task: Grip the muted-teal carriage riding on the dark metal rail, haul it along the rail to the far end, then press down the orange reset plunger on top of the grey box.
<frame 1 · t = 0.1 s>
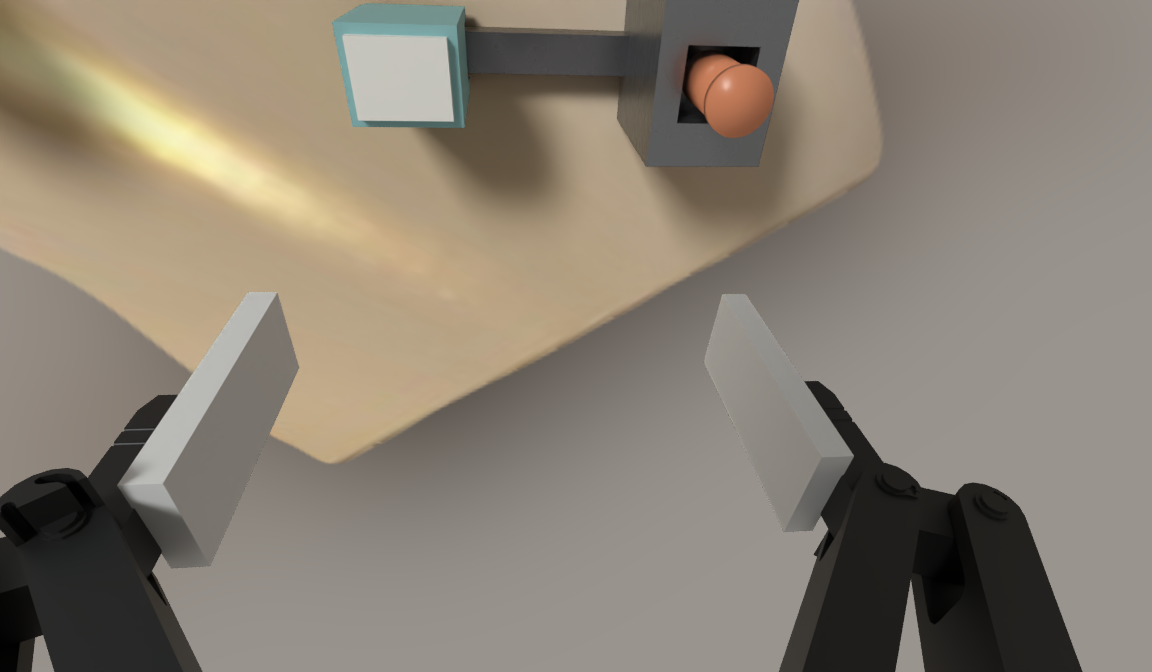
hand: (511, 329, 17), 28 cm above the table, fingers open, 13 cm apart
rail: (498, 47, 37), on the table
grey box: (671, 52, 38), on the table
carriage: (412, 62, 32), point 5 cm above the table, slide at 0.0 cm
plunger: (722, 89, 30), point 11 cm above the table, slide at 0.0 cm
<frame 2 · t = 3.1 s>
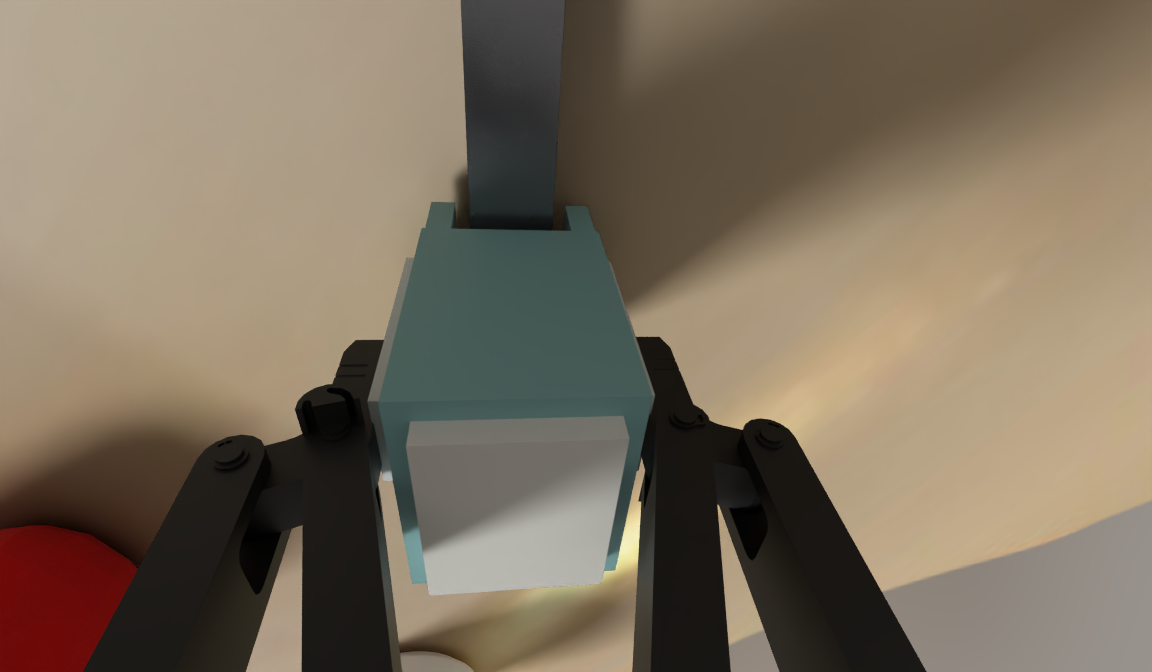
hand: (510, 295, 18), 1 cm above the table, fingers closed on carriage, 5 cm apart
rail: (510, 131, 16), on the table
tomato: (71, 565, 26), on the table
carriage: (513, 376, 15), point 5 cm above the table, slide at 0.0 cm, touching gripper
beverage can: (415, 669, 37), on the table
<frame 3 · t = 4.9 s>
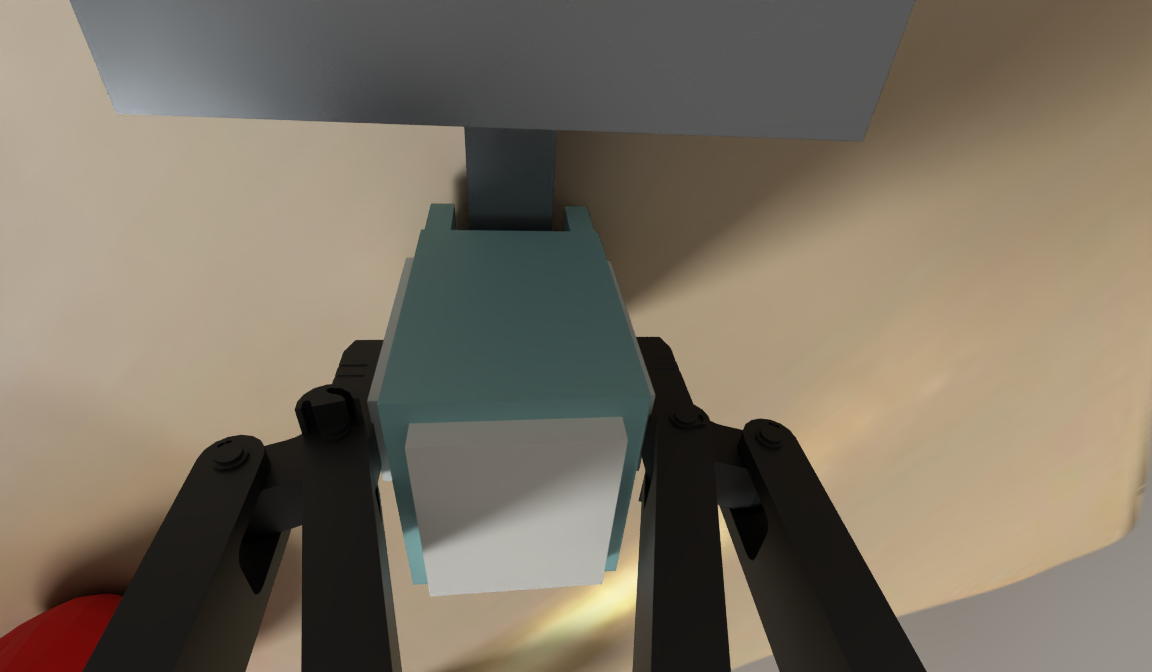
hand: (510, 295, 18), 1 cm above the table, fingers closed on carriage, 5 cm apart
rail: (510, 289, 20), on the table
tomato: (124, 622, 30), on the table
carriage: (513, 377, 15), point 5 cm above the table, slide at 5.5 cm, touching gripper
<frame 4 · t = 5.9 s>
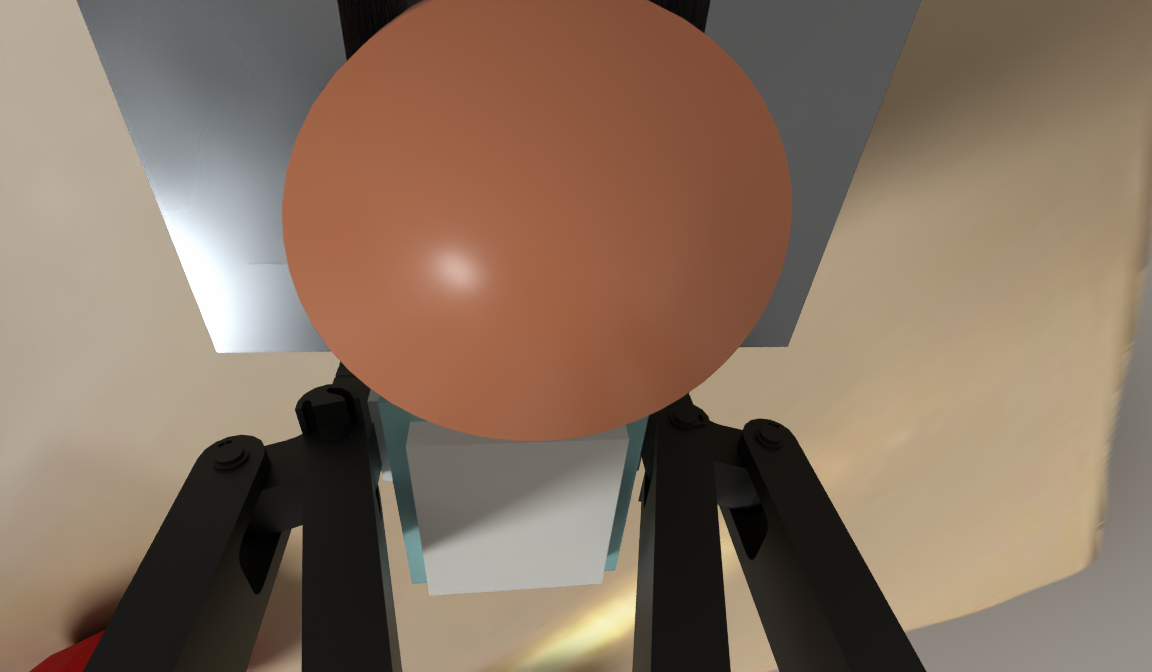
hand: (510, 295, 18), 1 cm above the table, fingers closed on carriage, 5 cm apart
tomato: (144, 650, 32), on the table
grey box: (511, 14, 15), on the table
carriage: (513, 376, 15), point 5 cm above the table, slide at 8.9 cm, touching gripper
plunger: (530, 143, 6), point 11 cm above the table, slide at 0.0 cm
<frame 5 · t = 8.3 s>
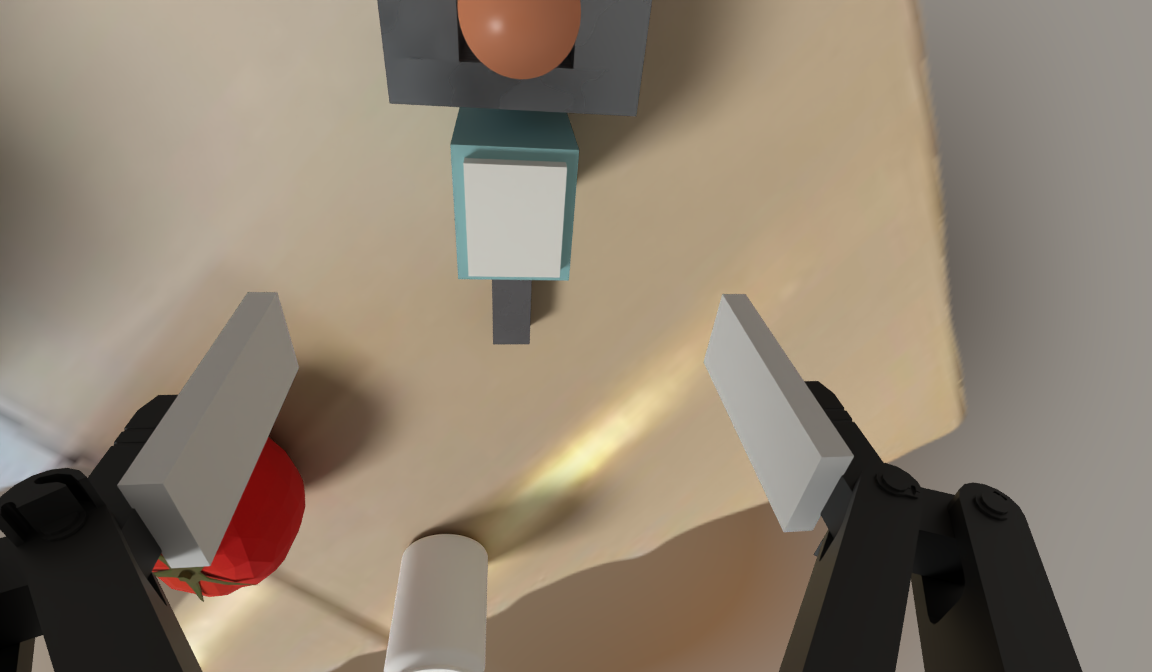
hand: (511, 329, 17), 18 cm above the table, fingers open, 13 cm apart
rail: (512, 212, 33), on the table
tomato: (243, 456, 43), on the table
carriage: (513, 182, 26), point 5 cm above the table, slide at 9.0 cm
plunger: (518, 1, 17), point 11 cm above the table, slide at 0.0 cm
beverage can: (446, 550, 54), on the table
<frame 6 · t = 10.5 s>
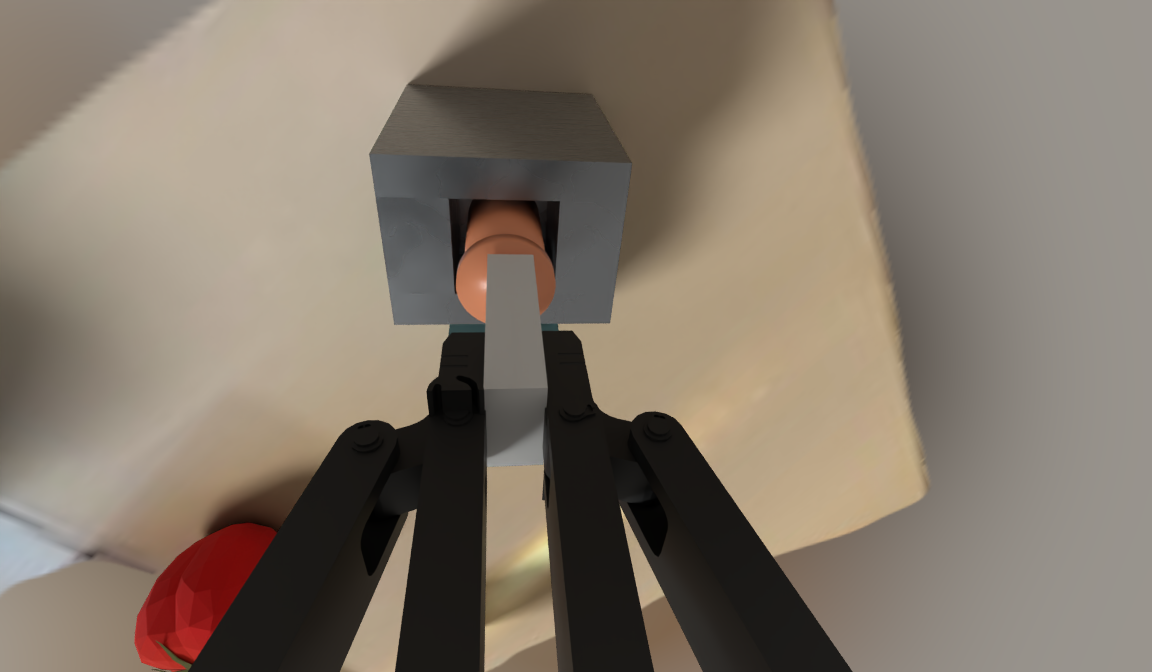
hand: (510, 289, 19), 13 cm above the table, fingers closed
tomato: (251, 546, 46), on the table
grey box: (502, 160, 29), on the table
carriage: (503, 343, 29), point 5 cm above the table, slide at 9.0 cm
plunger: (505, 248, 21), point 10 cm above the table, slide at 0.9 cm, touching gripper
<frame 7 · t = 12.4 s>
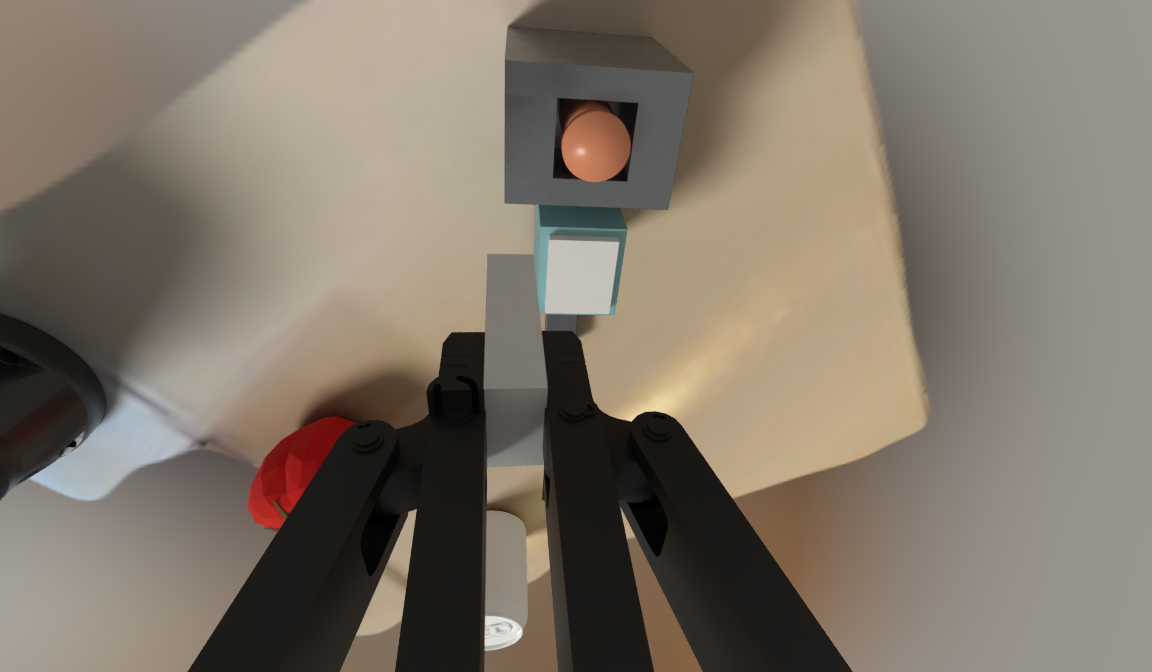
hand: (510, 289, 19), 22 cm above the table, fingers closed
rail: (564, 255, 43), on the table
tomato: (335, 442, 53), on the table
grey box: (576, 92, 36), on the table
carriage: (574, 242, 36), point 5 cm above the table, slide at 9.0 cm
plunger: (590, 131, 29), point 8 cm above the table, slide at 2.6 cm
beverage can: (491, 525, 64), on the table
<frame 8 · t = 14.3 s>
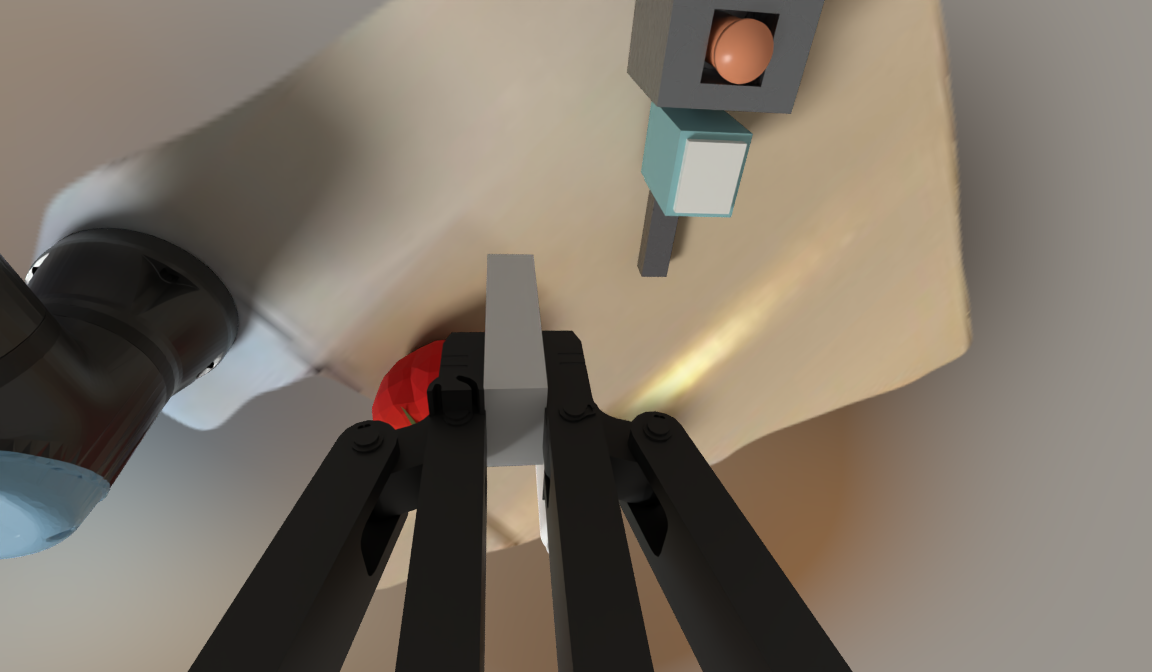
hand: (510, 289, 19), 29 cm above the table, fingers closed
rail: (664, 180, 48), on the table
tomato: (437, 369, 58), on the table
grey box: (692, 25, 41), on the table
carriage: (690, 156, 41), point 5 cm above the table, slide at 9.0 cm
plunger: (729, 44, 34), point 8 cm above the table, slide at 2.6 cm
beverage can: (567, 455, 69), on the table
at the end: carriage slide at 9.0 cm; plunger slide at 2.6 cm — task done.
